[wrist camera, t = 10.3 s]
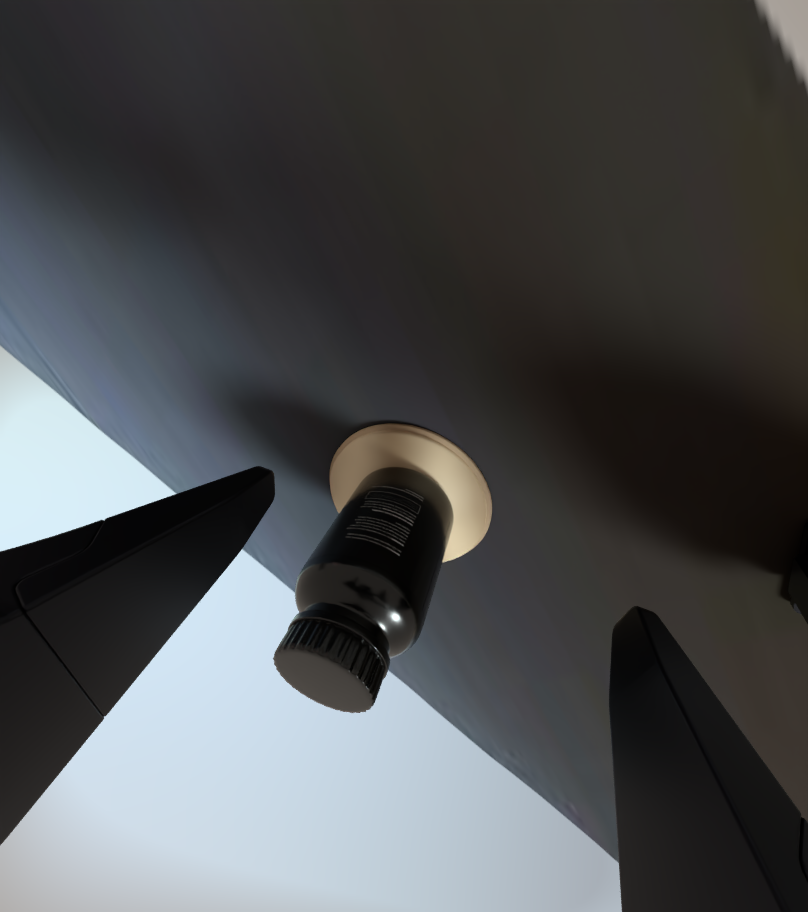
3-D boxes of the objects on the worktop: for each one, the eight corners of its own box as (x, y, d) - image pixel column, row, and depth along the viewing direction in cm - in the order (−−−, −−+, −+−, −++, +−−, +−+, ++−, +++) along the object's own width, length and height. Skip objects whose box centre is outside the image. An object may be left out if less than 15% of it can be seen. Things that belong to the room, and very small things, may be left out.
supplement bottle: (342, 497, 27) (228, 653, 18) (398, 443, 23) (290, 608, 14) (412, 556, 28) (341, 736, 19) (478, 515, 24) (430, 716, 15)
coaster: (468, 409, 21) (465, 415, 21) (508, 559, 26) (506, 567, 26) (305, 436, 26) (299, 442, 26) (365, 558, 31) (361, 565, 31)
